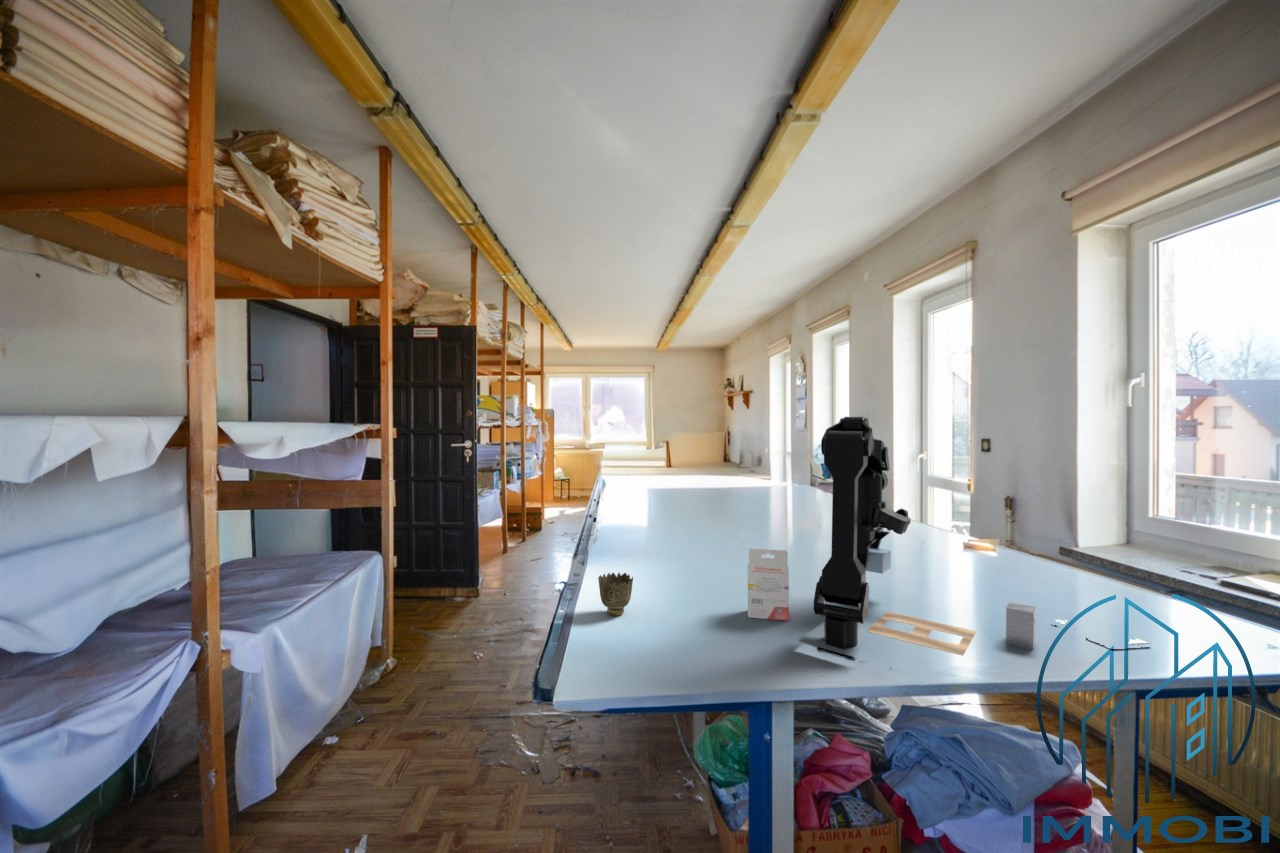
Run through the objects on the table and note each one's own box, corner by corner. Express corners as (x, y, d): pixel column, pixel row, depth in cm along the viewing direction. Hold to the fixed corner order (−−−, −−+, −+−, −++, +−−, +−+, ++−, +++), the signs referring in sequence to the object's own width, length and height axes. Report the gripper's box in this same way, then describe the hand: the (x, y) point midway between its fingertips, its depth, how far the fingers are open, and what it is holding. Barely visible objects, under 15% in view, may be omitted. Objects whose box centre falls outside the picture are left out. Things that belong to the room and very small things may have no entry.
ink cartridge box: (788, 613, 115) (788, 545, 115) (789, 621, 110) (789, 550, 110) (747, 609, 117) (748, 543, 117) (747, 617, 112) (747, 548, 112)
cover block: (882, 573, 115) (882, 555, 115) (845, 567, 121) (845, 549, 121) (890, 568, 120) (890, 550, 120) (854, 561, 125) (854, 545, 125)
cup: (637, 617, 112) (638, 579, 112) (604, 622, 109) (604, 583, 109) (625, 606, 119) (626, 570, 119) (594, 610, 116) (594, 573, 116)
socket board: (962, 663, 91) (963, 655, 91) (866, 639, 101) (866, 631, 101) (976, 639, 102) (976, 631, 102) (887, 618, 112) (887, 611, 112)
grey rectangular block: (1033, 658, 94) (1033, 612, 94) (1005, 651, 96) (1006, 607, 96) (1035, 650, 97) (1035, 607, 97) (1008, 644, 99) (1008, 602, 99)
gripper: (894, 504, 108) (894, 581, 108) (917, 495, 122) (916, 563, 122) (839, 499, 115) (839, 571, 115) (867, 491, 129) (866, 555, 130)
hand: (867, 565), depth 120 cm, fingers closed on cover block, 6 cm apart
